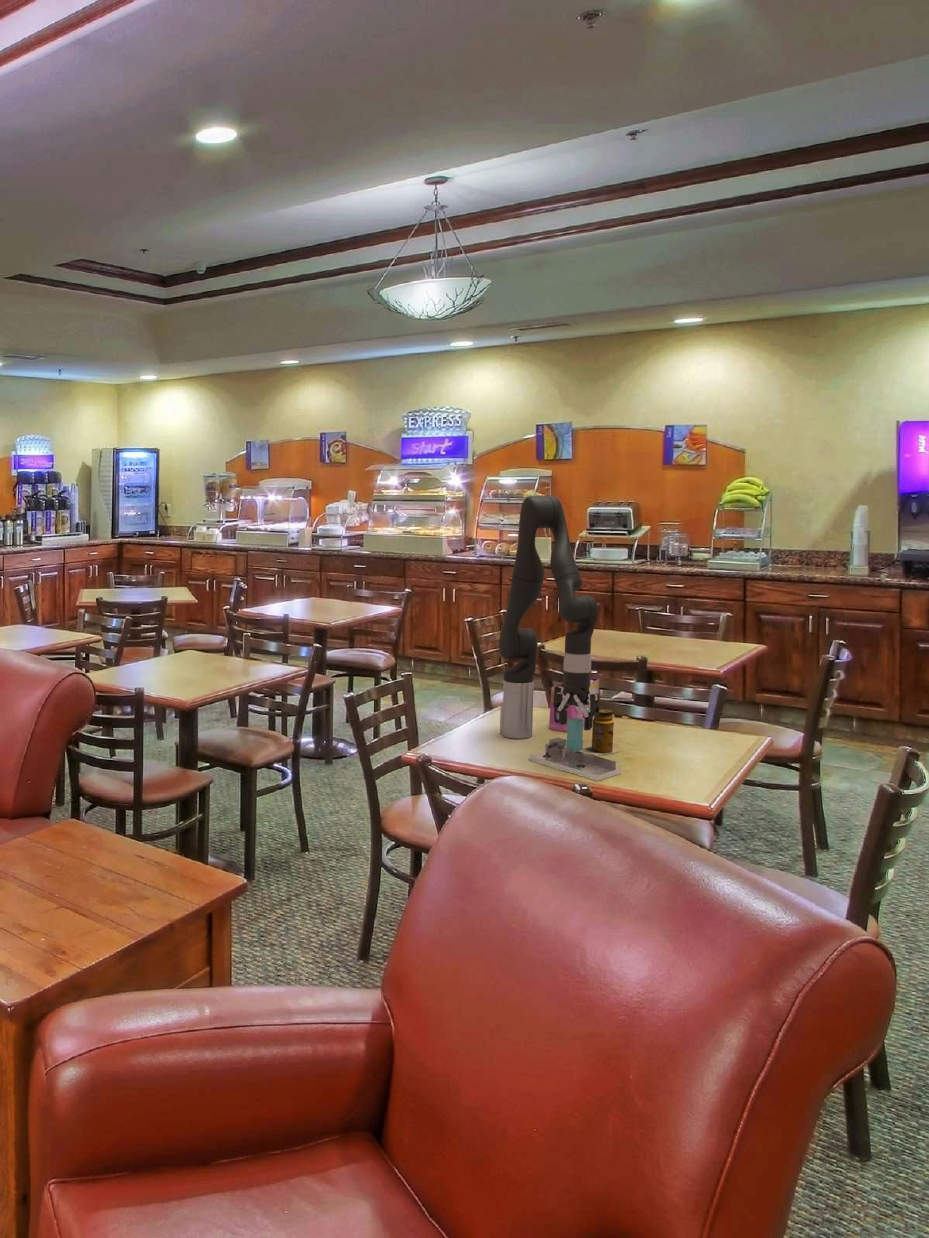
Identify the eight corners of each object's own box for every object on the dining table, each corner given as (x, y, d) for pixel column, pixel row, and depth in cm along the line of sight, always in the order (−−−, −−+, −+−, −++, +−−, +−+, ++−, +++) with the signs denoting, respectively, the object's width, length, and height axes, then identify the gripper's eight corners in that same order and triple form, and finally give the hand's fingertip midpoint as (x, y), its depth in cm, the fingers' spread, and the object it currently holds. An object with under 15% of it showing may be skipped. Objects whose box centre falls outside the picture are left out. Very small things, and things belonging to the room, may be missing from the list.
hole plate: (528, 760, 248) (529, 741, 247) (552, 753, 254) (552, 735, 254) (597, 781, 231) (598, 760, 230) (620, 773, 237) (621, 753, 237)
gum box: (569, 733, 277) (571, 691, 275) (546, 730, 281) (547, 688, 279) (598, 718, 297) (600, 678, 295) (576, 714, 301) (578, 675, 299)
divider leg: (558, 758, 243) (559, 720, 242) (573, 754, 248) (575, 716, 246) (567, 761, 241) (568, 722, 239) (582, 756, 246) (583, 718, 244)
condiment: (618, 751, 258) (620, 711, 256) (596, 756, 253) (598, 715, 252) (601, 745, 264) (603, 706, 262) (580, 749, 259) (581, 709, 258)
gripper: (548, 667, 244) (546, 724, 246) (589, 674, 234) (587, 734, 236) (565, 664, 250) (564, 720, 252) (606, 671, 239) (604, 729, 242)
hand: (575, 727), depth 244 cm, fingers open, 8 cm apart
